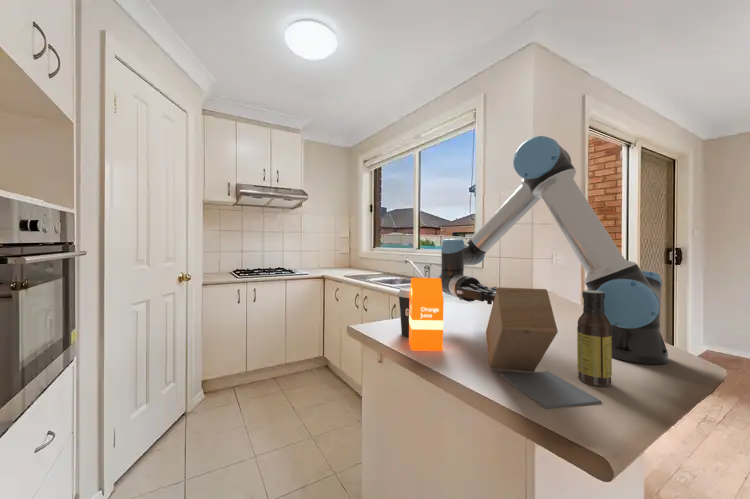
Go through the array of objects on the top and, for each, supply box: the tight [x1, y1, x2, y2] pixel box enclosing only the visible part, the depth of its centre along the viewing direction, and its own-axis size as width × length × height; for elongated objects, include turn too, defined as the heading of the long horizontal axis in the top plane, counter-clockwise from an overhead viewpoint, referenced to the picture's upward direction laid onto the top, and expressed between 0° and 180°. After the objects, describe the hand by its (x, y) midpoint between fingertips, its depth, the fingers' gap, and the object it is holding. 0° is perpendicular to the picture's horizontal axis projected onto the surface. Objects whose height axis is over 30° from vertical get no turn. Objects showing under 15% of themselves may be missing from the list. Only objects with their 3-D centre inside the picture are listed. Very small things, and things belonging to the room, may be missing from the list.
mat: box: [501, 371, 603, 409], centre depth 65 cm, size 14×12×1 cm
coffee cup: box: [397, 286, 411, 338], centre depth 103 cm, size 10×10×15 cm
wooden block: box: [485, 286, 559, 373], centre depth 70 cm, size 10×10×20 cm
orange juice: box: [408, 277, 444, 352], centre depth 91 cm, size 8×9×20 cm
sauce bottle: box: [576, 289, 613, 388], centre depth 69 cm, size 6×6×20 cm
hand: (510, 301), depth 77 cm, fingers closed
